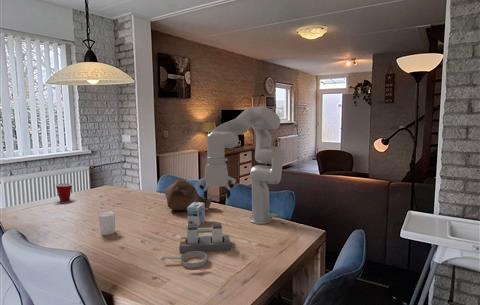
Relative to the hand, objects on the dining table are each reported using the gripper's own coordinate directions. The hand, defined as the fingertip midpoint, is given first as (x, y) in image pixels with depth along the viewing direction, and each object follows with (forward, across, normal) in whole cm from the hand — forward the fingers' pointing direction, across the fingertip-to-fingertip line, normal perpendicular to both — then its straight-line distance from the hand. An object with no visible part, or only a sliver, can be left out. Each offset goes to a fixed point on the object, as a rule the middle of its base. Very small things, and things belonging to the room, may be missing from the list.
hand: (217, 198), depth 140 cm
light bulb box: (+23, +11, -32) cm, 41 cm away
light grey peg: (+21, +12, +2) cm, 24 cm away
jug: (+23, +16, -58) cm, 64 cm away
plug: (+21, +1, +2) cm, 22 cm away
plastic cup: (+23, +105, -93) cm, 142 cm away
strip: (+22, +6, +2) cm, 23 cm away
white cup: (+22, +56, -24) cm, 65 cm away
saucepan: (+22, +14, +16) cm, 31 cm away
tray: (+22, +6, -12) cm, 26 cm away
